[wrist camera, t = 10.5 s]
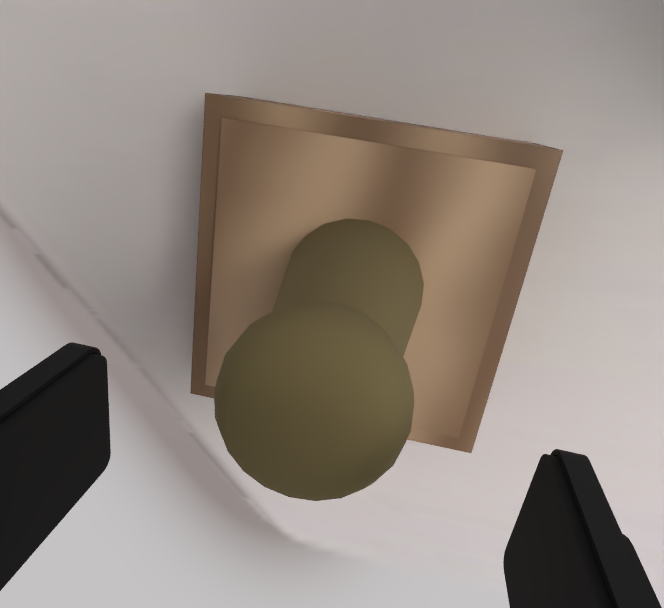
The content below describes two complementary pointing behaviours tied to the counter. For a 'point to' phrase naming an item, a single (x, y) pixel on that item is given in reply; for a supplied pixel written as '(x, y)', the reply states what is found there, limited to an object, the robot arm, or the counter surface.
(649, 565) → the counter surface
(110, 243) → the counter surface
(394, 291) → the olive tapered piece
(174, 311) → the counter surface
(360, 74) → the counter surface
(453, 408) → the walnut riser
